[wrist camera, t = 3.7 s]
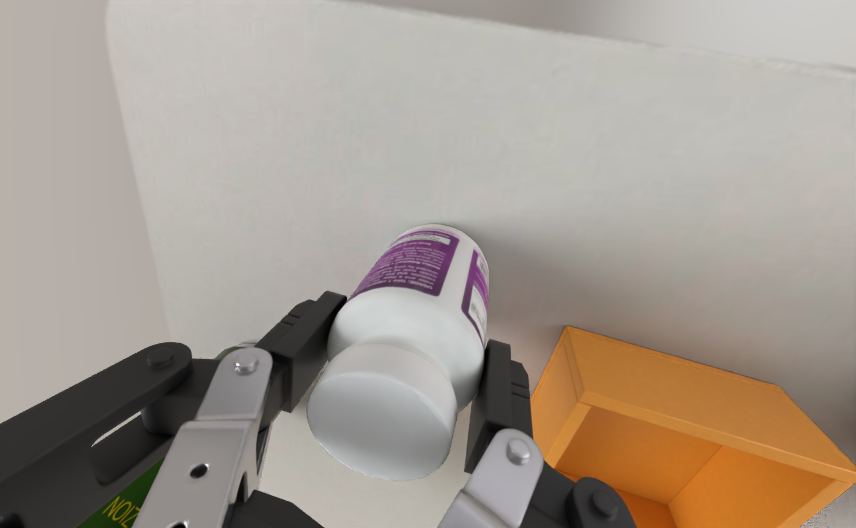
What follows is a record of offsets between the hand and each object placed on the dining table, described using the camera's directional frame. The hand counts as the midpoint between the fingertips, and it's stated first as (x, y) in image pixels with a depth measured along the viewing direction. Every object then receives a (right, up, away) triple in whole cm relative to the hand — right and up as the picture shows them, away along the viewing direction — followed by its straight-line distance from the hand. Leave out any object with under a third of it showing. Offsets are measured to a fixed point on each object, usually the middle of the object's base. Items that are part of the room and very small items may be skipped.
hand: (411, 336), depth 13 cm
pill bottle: (+1, +2, +5) cm, 6 cm away
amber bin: (+11, -6, +7) cm, 14 cm away
